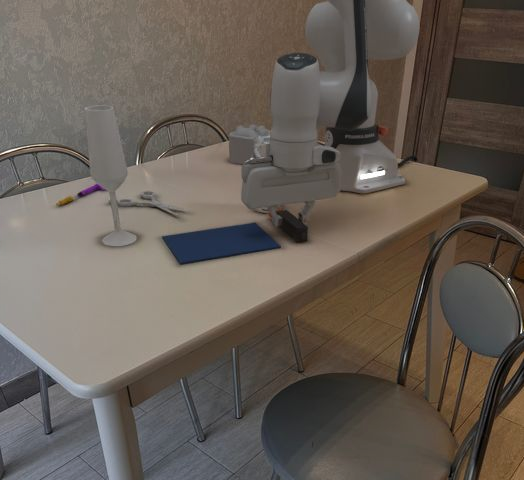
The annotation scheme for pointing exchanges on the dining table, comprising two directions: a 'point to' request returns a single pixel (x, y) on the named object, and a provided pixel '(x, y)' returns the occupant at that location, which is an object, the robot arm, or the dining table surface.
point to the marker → (292, 226)
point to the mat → (219, 243)
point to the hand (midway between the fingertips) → (290, 223)
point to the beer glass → (258, 150)
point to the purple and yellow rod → (80, 194)
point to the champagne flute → (107, 163)
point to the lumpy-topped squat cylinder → (244, 142)
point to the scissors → (153, 203)
